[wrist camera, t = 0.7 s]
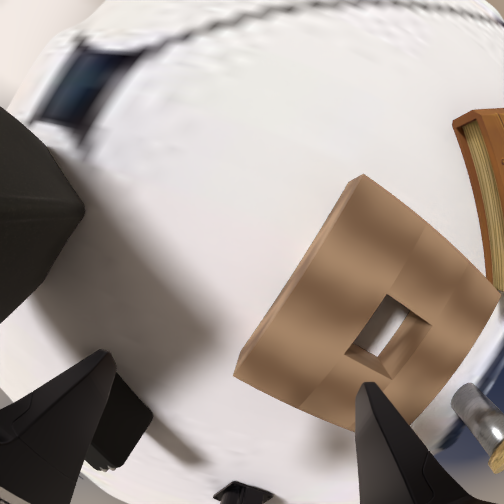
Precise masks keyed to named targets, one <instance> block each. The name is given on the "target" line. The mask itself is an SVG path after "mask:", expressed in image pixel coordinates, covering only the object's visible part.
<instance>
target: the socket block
mask: <svg viewBox="0 0 504 504" xmlns="http://www.w3.org/2000/svg"><path fill="white" fill-rule="evenodd" d="M386 294H388V295H389V296H391V297H392V298H394V299H395V300H397V301H398V302H400V303H401V304H403V305H404V306H405V307H407V308H408V309H410V310H411V311H410V312H409V314H408V315H407V317H406V318H405V320H404V321H403V323H402V324H401V326H400V327H399V328H398V330H397V331H396V333H395V334H394V336H393V337H392V338H391V340H390V341H389V342H388V344H387V345H386V347H385V348H384V349H383V351H382V352H381V353H380V354H379V356H378V357H376V356H375V355H373V354H371V353H369V352H368V351H366V350H364V349H362V348H361V347H359V346H357V345H355V344H353V342H354V340H355V339H356V338H357V336H358V335H359V333H360V332H361V331H362V329H363V328H364V327H365V325H366V324H367V322H368V321H369V319H370V318H371V317H372V315H373V314H374V312H375V311H376V309H377V308H378V306H379V305H380V303H381V302H382V300H383V299H384V297H385V296H386ZM500 297H501V294H500V293H499V292H498V291H497V289H496V288H495V287H494V286H493V285H492V284H491V283H490V282H489V281H488V280H487V279H486V277H485V276H484V275H483V274H482V273H481V272H480V271H479V270H478V269H477V268H476V267H475V266H474V265H473V264H472V263H471V262H470V261H469V260H468V259H467V258H466V257H465V256H464V255H463V254H462V253H461V252H460V251H459V250H458V249H456V248H455V247H454V246H453V245H452V244H451V243H450V242H449V241H448V240H447V239H446V238H444V237H443V236H442V235H441V234H440V233H439V232H438V231H437V230H435V229H434V228H433V227H432V226H431V225H430V224H428V223H427V222H426V221H425V220H424V219H422V218H421V217H420V216H419V215H418V214H416V213H415V212H414V211H413V210H411V209H410V208H409V207H408V206H406V205H405V204H404V203H403V202H401V201H400V200H399V199H397V198H396V197H395V196H394V195H392V194H391V193H390V192H388V191H387V190H385V189H384V188H383V187H381V186H380V185H379V184H377V183H376V182H374V181H373V180H372V179H370V178H369V177H367V176H366V175H365V174H362V175H361V176H359V177H357V178H355V179H353V180H351V181H349V182H348V184H347V186H346V187H345V189H344V191H343V193H342V194H341V196H340V198H339V199H338V201H337V203H336V204H335V206H334V208H333V209H332V211H331V213H330V214H329V216H328V218H327V219H326V221H325V223H324V224H323V226H322V228H321V229H320V231H319V233H318V234H317V236H316V237H315V239H314V241H313V242H312V244H311V246H310V247H309V249H308V250H307V252H306V254H305V255H304V257H303V258H302V260H301V261H300V263H299V265H298V266H297V268H296V269H295V271H294V272H293V274H292V276H291V277H290V279H289V280H288V282H287V283H286V285H285V286H284V288H283V289H282V291H281V293H280V294H279V296H278V297H277V299H276V300H275V302H274V303H273V305H272V306H271V308H270V309H269V311H268V312H267V314H266V315H265V317H264V318H263V320H262V321H261V322H260V324H259V325H258V327H257V328H256V330H255V331H254V333H253V334H252V336H251V337H250V339H249V340H248V341H247V343H246V344H245V346H244V347H243V349H242V350H241V352H240V355H239V358H238V361H237V364H236V368H235V371H234V374H233V376H234V377H236V378H238V379H239V380H241V381H243V382H245V383H247V384H249V385H251V386H252V387H254V388H256V389H258V390H260V391H262V392H264V393H266V394H268V395H270V396H272V397H274V398H276V399H278V400H280V401H282V402H284V403H286V404H289V405H291V406H293V407H295V408H297V409H299V410H302V411H304V412H306V413H308V414H311V415H313V416H315V417H318V418H320V419H322V420H325V421H327V422H330V423H332V424H335V425H337V426H340V427H342V428H345V429H348V430H350V431H353V432H355V398H356V395H357V393H358V391H359V389H360V387H361V385H362V383H363V382H375V383H376V384H377V385H378V386H379V388H380V389H381V390H382V391H383V393H384V394H385V395H386V396H387V398H388V399H389V400H390V401H391V403H392V404H393V405H394V407H395V408H396V409H397V410H398V412H399V413H400V414H401V415H402V417H403V418H404V419H405V420H406V422H407V423H408V424H409V425H410V424H411V423H412V422H413V421H414V420H415V419H416V418H417V417H418V416H419V415H420V414H421V413H422V412H423V411H424V409H425V408H426V407H427V406H428V405H429V404H430V403H431V401H432V400H433V399H434V398H435V397H436V395H437V394H438V393H439V392H440V391H441V389H442V388H443V387H444V386H445V384H446V383H447V382H448V380H449V379H450V378H451V377H452V375H453V374H454V372H455V371H456V370H457V368H458V367H459V366H460V364H461V363H462V361H463V360H464V358H465V357H466V356H467V354H468V353H469V351H470V350H471V348H472V346H473V345H474V343H475V342H476V340H477V339H478V337H479V335H480V334H481V332H482V330H483V329H484V327H485V325H486V323H487V322H488V320H489V318H490V316H491V315H492V313H493V311H494V309H495V307H496V305H497V303H498V301H499V299H500Z"/></svg>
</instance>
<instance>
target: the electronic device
mask: <svg viewBox="0 0 504 504" xmlns="http://www.w3.org/2000/svg"><path fill="white" fill-rule="evenodd" d="M152 419H153V415H152V412H151V411H150V410H149V408H148V407H147V406H146V405H145V404H144V403H143V402H142V401H141V400H140V399H139V398H138V397H137V396H136V394H135V393H134V392H133V391H132V390H131V389H130V388H129V387H128V385H127V384H126V383H125V382H124V381H123V380H122V378H121V377H120V376H119V375H118V374H117V372H116V373H115V377H114V380H113V383H112V386H111V390H110V393H109V396H108V400H107V403H106V405H105V408H104V410H103V413H102V415H101V418H100V420H99V423H98V425H97V428H96V430H95V433H94V435H93V438H92V440H91V443H90V446H89V448H88V451H87V454H86V456H85V459H84V460H86V461H87V462H88V463H89V464H90V465H91V466H92V467H93V468H94V469H96V470H99V471H104V472H107V470H108V469H111V470H112V471H114V470H115V469H116V468H118V467H121V466H122V465H123V464H124V463H125V461H126V460H127V458H128V457H129V455H130V453H131V452H132V450H133V449H134V447H135V446H136V444H137V443H138V441H139V440H140V438H141V437H142V435H143V433H144V432H145V430H146V429H147V427H148V426H149V424H150V423H151V421H152Z"/></svg>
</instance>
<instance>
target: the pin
mask: <svg viewBox="0 0 504 504" xmlns="http://www.w3.org/2000/svg"><path fill="white" fill-rule="evenodd" d="M451 407H452V408H453V409H454V410H455V412H456V413H457V414H458V415H459V417H460V418H461V419H462V421H463V422H464V423H465V424H466V426H467V427H468V428H469V430H470V431H471V432H472V433H473V435H474V436H475V437H476V439H477V440H478V441H479V443H480V444H481V445H482V447H483V448H484V449H485V451H486V452H487V453H488V455H489V456H490V459H489V462H488V465H489V466H490V468H491V469H492V471H493V472H494V473H495V474H496V473H500V472H501V471H503V470H504V414H503V413H502V412H501V411H500V410H499V409H498V408H497V407H496V406H495V405H494V404H493V403H492V402H491V401H490V400H489V399H488V398H487V397H486V396H485V395H484V394H483V393H482V392H481V391H480V390H479V389H478V388H477V387H476V386H475V385H474V384H473V383H467V384H465V385H463V386H462V387H461V388H459V389H458V390H457V392H456V393H455V394H454V396H453V398H452V400H451Z"/></svg>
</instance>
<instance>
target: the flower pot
mask: <svg viewBox="0 0 504 504" xmlns="http://www.w3.org/2000/svg"><path fill="white" fill-rule="evenodd" d="M84 212H85V208H84V204H83V202H82V201H81V200H80V198H79V197H78V195H77V194H76V192H75V191H74V189H73V188H72V187H71V185H70V184H69V182H68V181H67V179H66V178H65V176H64V175H63V173H62V171H61V170H60V168H59V167H58V165H57V164H56V162H55V161H54V159H53V157H52V156H51V154H50V153H49V151H48V149H47V147H46V146H45V144H44V143H43V142H42V141H41V140H39V139H38V138H37V137H36V136H35V135H34V134H33V133H32V132H31V131H30V130H29V129H27V128H26V127H25V126H24V125H23V124H22V123H21V122H19V121H18V120H17V119H16V118H15V117H13V116H12V115H11V114H9V113H8V112H7V111H6V110H4V109H3V108H2V107H0V323H1V322H3V321H4V320H5V319H6V318H7V317H8V316H9V315H10V314H11V313H12V312H13V311H14V310H15V309H16V308H17V307H18V306H20V305H21V304H22V303H23V302H24V301H25V300H26V299H27V298H28V297H29V296H30V295H31V294H32V293H33V292H34V291H35V290H36V289H37V287H38V286H39V285H40V284H41V283H42V282H43V281H44V279H45V277H46V275H47V273H48V272H49V270H50V268H51V266H52V265H53V263H54V261H55V260H56V258H57V256H58V255H59V253H60V251H61V250H62V248H63V246H64V245H65V243H66V242H67V240H68V238H69V237H70V235H71V234H72V232H73V231H74V229H75V228H76V226H77V225H78V223H79V222H80V221H81V219H82V218H83V216H84Z"/></svg>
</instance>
